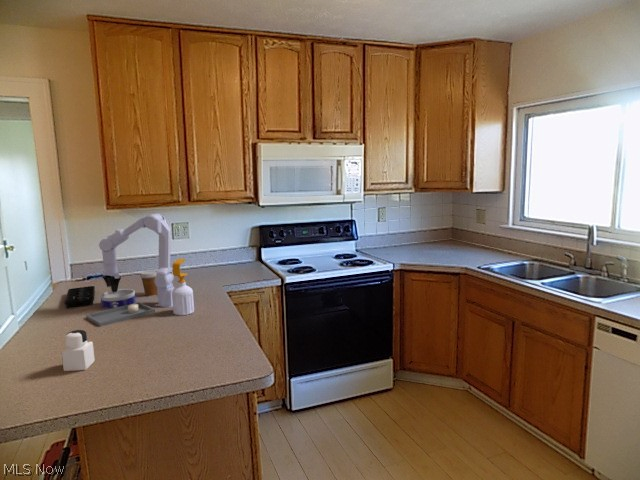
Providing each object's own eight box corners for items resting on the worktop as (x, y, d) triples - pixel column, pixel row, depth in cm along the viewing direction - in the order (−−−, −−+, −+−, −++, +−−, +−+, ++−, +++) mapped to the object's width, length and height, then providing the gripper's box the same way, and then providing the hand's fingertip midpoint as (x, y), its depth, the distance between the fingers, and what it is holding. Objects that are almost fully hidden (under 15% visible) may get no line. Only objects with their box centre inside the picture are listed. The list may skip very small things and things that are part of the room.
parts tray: (139, 306, 212) (139, 302, 211) (155, 313, 201) (155, 308, 200) (86, 319, 195) (85, 314, 194) (100, 327, 184) (99, 322, 183)
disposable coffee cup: (138, 296, 229) (135, 273, 227) (151, 291, 237) (149, 269, 236) (152, 297, 225) (150, 275, 223) (165, 292, 234) (163, 270, 232)
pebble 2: (136, 309, 205) (135, 303, 204) (140, 311, 201) (139, 305, 201) (126, 312, 201) (126, 305, 201) (130, 314, 198) (130, 307, 198)
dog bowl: (102, 311, 205) (100, 299, 204) (101, 303, 218) (99, 291, 217) (137, 306, 212) (136, 294, 211) (134, 298, 225) (133, 287, 224)
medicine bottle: (73, 362, 151) (69, 328, 149) (95, 360, 151) (91, 327, 149) (63, 371, 144) (58, 336, 142) (86, 370, 144) (82, 335, 142)
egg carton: (66, 310, 208) (66, 303, 208) (57, 297, 232) (56, 290, 231) (107, 303, 219) (106, 296, 219) (93, 291, 242) (93, 284, 242)
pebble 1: (115, 291, 215) (115, 284, 215) (119, 292, 213) (118, 286, 212) (106, 293, 212) (105, 286, 212) (110, 294, 209) (109, 288, 209)
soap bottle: (198, 310, 203) (194, 258, 199) (184, 316, 195) (180, 262, 191) (183, 308, 207) (179, 257, 203) (169, 314, 198) (164, 261, 194)
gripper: (95, 262, 212) (98, 289, 214) (107, 266, 202) (110, 295, 205) (110, 260, 217) (113, 286, 219) (122, 264, 207) (125, 292, 210)
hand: (112, 290), depth 212 cm, fingers closed on pebble 1, 4 cm apart
